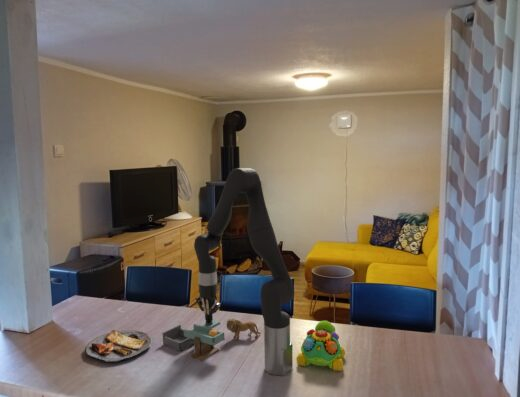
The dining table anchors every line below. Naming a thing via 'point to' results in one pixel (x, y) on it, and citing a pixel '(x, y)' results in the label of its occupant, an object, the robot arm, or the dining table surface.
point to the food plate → (118, 345)
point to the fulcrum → (202, 350)
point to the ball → (212, 333)
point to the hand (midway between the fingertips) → (208, 321)
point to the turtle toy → (322, 348)
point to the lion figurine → (241, 327)
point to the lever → (205, 333)
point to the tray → (177, 339)
